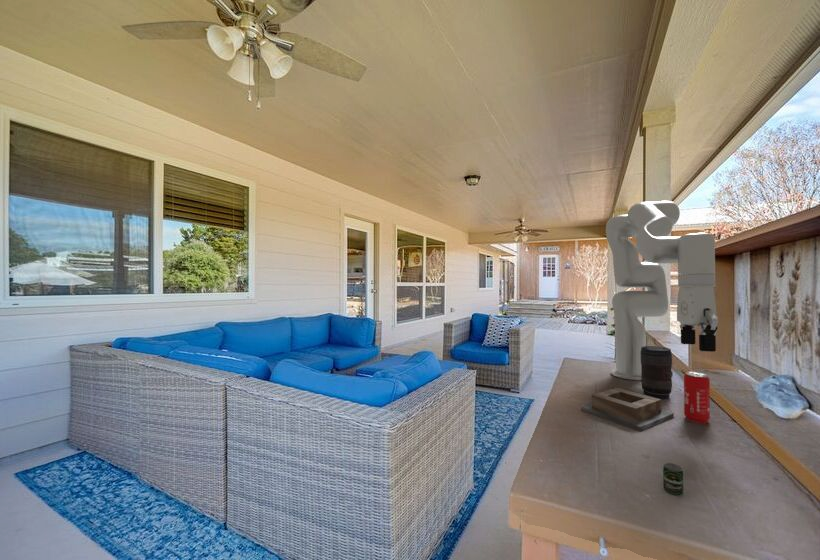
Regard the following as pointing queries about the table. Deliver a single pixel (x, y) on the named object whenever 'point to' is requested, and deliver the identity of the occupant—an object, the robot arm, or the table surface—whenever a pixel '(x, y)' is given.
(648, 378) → the camera lens
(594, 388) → the table surface
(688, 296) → the robot arm
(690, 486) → the table surface
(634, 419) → the can holder
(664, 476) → the beer can
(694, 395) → the beverage can
